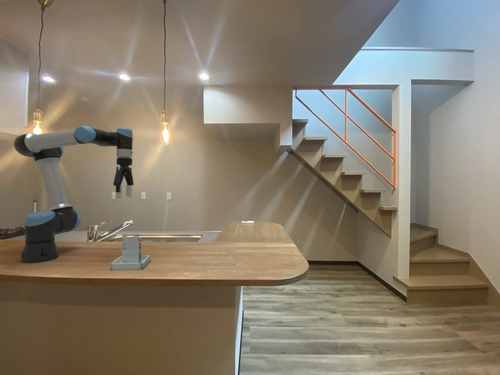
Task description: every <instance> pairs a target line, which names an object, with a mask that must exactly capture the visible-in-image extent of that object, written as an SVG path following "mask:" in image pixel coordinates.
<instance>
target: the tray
mask: <svg viewBox="0 0 500 375" xmlns="http://www.w3.org/2000/svg"><path fill="white" fill-rule="evenodd" d="M150 262H151V254H150V255H149V254H147V255H142V254H141V263H122V255H120V256H118V258H116V259H115V260H113V261H112V262H111V263H110V264H109V270H110V271H130V270H131V271H134V270H135V271H136V270H138V271H140V270H141V271H143V269H144V268H146V266H147V265H149V263H150Z"/></svg>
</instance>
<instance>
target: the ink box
mask: <svg viewBox="0 0 500 375" xmlns="http://www.w3.org/2000/svg"><path fill="white" fill-rule="evenodd" d="M130 236H131V237H130ZM139 236H140V234H139V233H122V236H121V238H122V240H121V243H122V244H121V256H122V263H141V255H142V242H140V241H139V240H140V239H139V238H140V237H139Z"/></svg>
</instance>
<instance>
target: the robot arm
mask: <svg viewBox="0 0 500 375" xmlns="http://www.w3.org/2000/svg"><path fill="white" fill-rule="evenodd" d="M133 139H134V136H133V130H132V129H131V128H128V127H122V126H121V127H117V129H116V131H106V130H102V129H98V128H94V127H90V126H88V125H79V126H77V127H76V128H74V129H67V130H61V131H54V132H45V133H39V134H36V133H33V132H32V133H31V132H29V133H24V134H20V135H18V136H17V137H16V138H15V139H14V141H13V147H14V149H15V152H17V153H18V154H19V155H21V156H23V157H28V158H33V160H34V163H35V164H37V165H38V166H39V169H40V173H41V176H42V177H41V178H42V181H43V184H44V190H45V194H46V197H47V201H48V205H49V208H48V210H41V211H34V212H31V213H28V214H27V215H26V216H25V222H24V230H25V231H24V232H25V233H24V234H25V235H24V237H25V242H24V244H25V245H24V248H23V250H22V253H21V255H20V262H21V263H29V264H32V263H41V262H47V261H51V260H55V259H57V258H59V257H60V251H59V249H58V247H57V244H56V242H55V241H56V240H55V239H56V238H55V236H56V235H59V234H64V233H69V232H71V231H74V230H76V229H77V228H79V225H80V224H81V220H82V219H81V218H82V217H81V214H80V213H79V212H78V210H74V207H73V205H71V204H70V203H69V200H68V195H67V193H66V192H67V191H66V189H65V185H64V180H63V176H62V171H61V167H60V165H59V163H60V161H61V160H62V159H61V158H62V157H63V154H64V148H65V147H71V146H79V145H86V144H91V145H92V144H93V145H97V146H99V147H104V148H106V147H116V157H117V158H116V168H115V169H116V171H115V175H114V179H113V184H112V185H113V187H114V186H115V198H114V199H116V200H122V198H123V195H122V193H123V192H122V189H123V187H122V183H123V182H124V181H123V180H124V179H125V183H126V185H125V197H126V198H132V194H133V193H132V189H133V188H132V187H133V186H134V179H133V178H134V177H133V173H132V169H133V168H132V167H130V166H132V165H133V154H134V151H133Z"/></svg>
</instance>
